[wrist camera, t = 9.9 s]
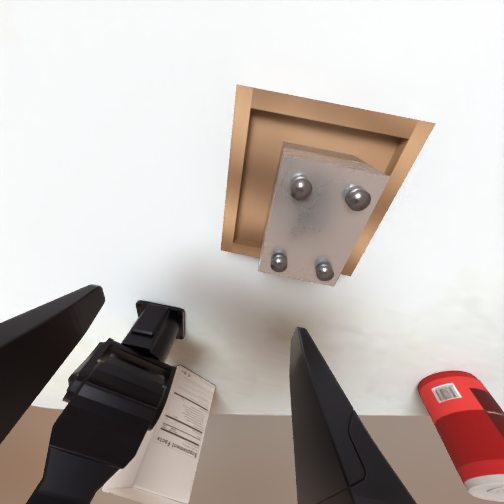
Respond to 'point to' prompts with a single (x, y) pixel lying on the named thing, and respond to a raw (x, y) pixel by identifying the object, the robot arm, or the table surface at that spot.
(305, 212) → the housing
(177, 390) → the supplement box
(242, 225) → the wooden tray
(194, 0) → the table surface
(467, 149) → the table surface
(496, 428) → the canned food
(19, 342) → the robot arm
